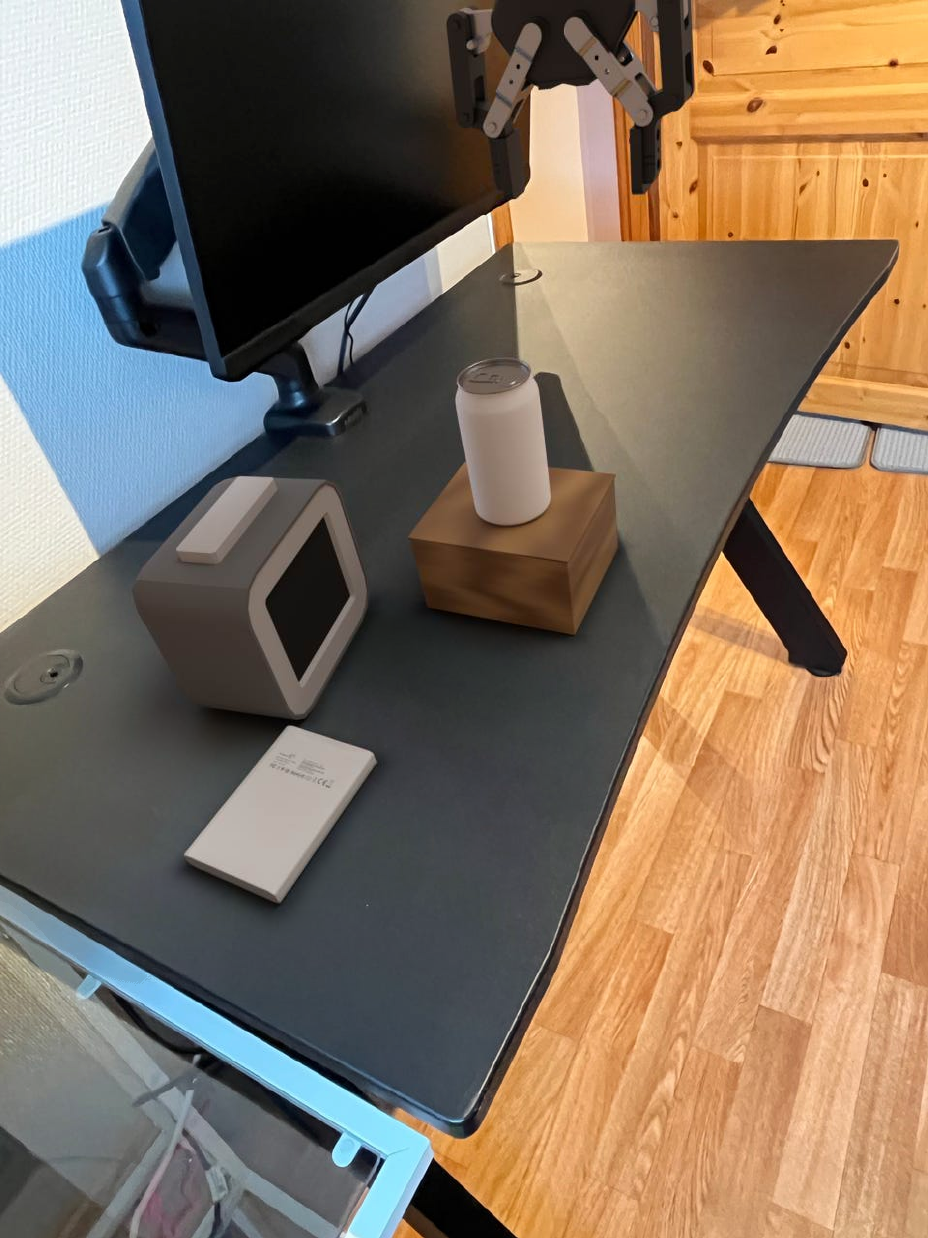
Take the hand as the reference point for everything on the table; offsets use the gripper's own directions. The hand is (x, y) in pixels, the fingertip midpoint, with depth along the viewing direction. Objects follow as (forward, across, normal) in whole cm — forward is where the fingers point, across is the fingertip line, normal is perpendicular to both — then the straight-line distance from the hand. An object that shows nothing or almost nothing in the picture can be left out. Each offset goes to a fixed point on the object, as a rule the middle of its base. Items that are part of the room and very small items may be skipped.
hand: (576, 193), depth 54 cm
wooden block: (+32, -7, -2) cm, 33 cm away
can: (+24, -7, -2) cm, 25 cm away
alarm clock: (+32, -24, -17) cm, 43 cm away
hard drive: (+32, -14, -31) cm, 47 cm away
